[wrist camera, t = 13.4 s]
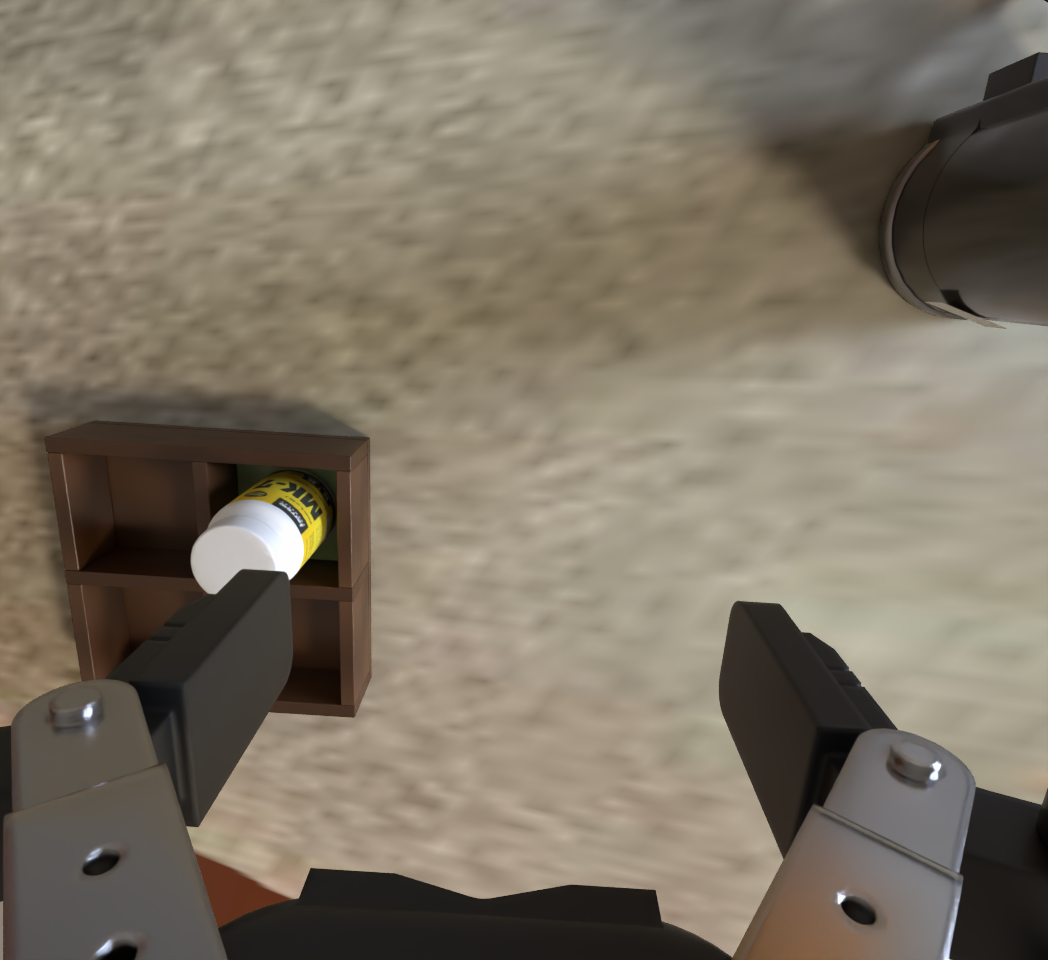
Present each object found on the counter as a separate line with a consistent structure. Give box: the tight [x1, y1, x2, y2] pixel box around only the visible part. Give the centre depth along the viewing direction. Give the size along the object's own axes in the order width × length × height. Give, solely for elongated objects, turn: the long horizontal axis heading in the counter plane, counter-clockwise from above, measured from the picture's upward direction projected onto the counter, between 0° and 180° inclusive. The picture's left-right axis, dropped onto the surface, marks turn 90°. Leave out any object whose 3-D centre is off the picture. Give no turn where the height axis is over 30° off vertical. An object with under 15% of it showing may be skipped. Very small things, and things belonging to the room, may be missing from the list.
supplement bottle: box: [191, 469, 337, 594], centre depth 34 cm, size 5×5×8 cm
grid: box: [45, 421, 371, 718], centre depth 38 cm, size 16×16×4 cm
